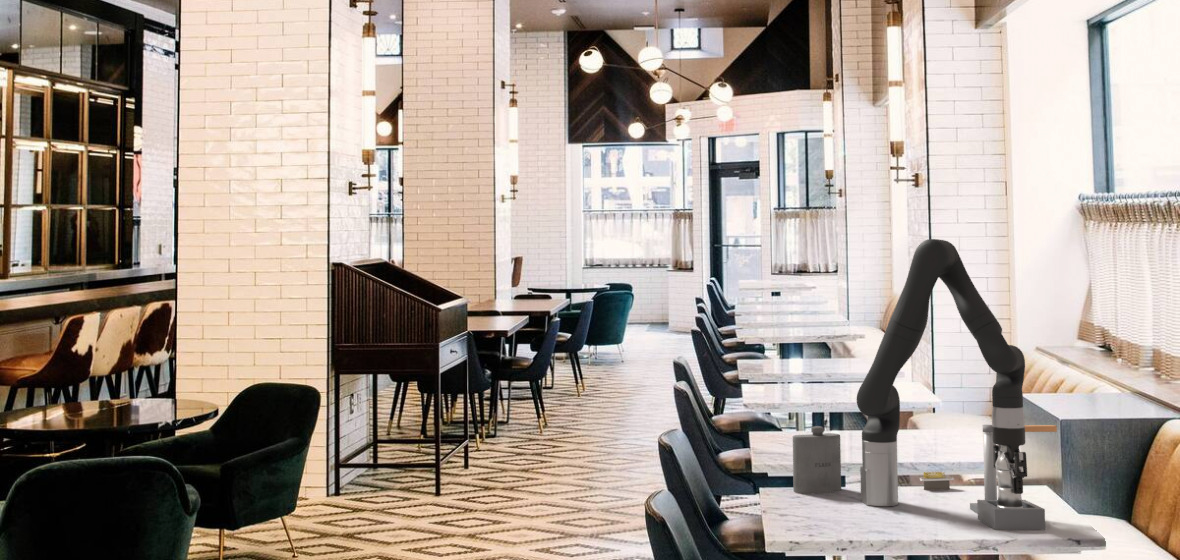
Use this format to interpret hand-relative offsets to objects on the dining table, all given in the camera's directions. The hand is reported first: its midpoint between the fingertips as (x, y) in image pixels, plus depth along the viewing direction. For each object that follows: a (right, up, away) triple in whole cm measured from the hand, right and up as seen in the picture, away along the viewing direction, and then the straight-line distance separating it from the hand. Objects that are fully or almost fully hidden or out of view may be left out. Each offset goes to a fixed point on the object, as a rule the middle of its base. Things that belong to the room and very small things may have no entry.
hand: (1010, 490), depth 228 cm
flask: (-39, -10, +37) cm, 55 cm away
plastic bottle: (0, -9, 0) cm, 9 cm away
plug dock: (0, -9, +6) cm, 11 cm away
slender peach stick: (+8, +13, +12) cm, 19 cm away
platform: (-4, -11, +39) cm, 41 cm away
